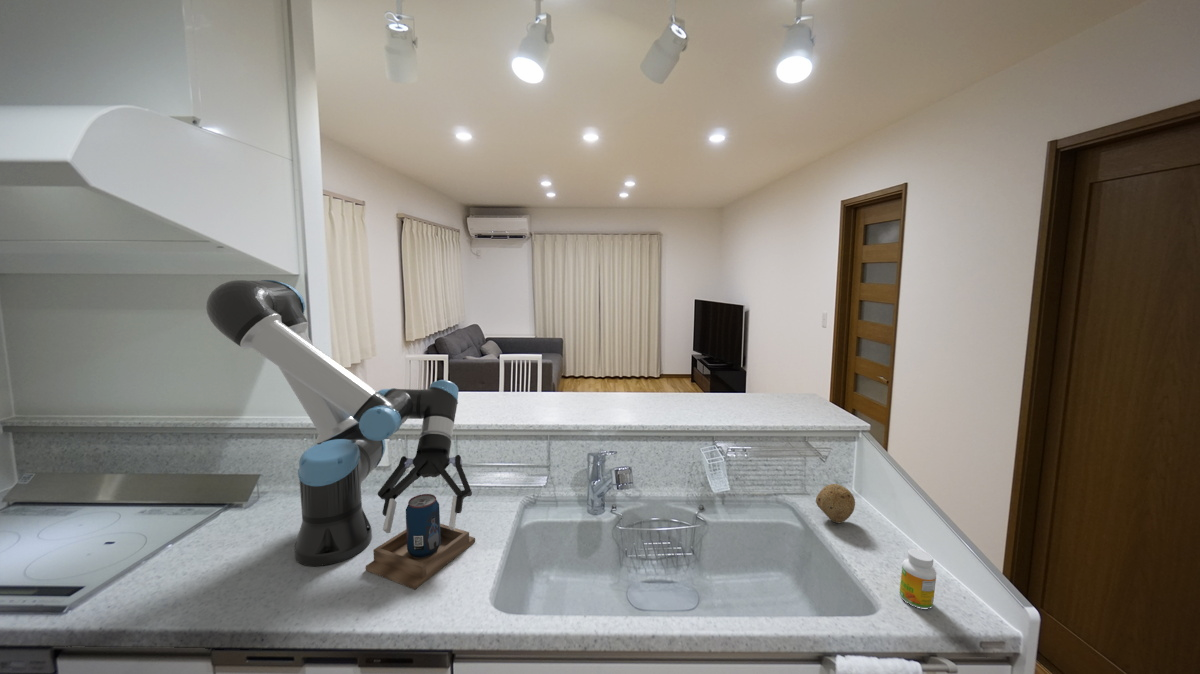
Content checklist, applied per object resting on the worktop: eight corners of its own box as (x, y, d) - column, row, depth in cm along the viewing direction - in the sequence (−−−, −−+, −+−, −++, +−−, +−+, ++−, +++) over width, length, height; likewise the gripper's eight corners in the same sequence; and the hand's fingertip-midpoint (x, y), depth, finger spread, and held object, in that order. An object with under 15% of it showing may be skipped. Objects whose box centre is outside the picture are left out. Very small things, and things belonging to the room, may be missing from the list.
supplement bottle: (892, 591, 88) (897, 546, 87) (917, 590, 89) (922, 545, 87) (913, 611, 83) (918, 563, 82) (940, 610, 83) (945, 562, 82)
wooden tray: (365, 570, 92) (365, 554, 92) (430, 527, 109) (429, 514, 108) (415, 589, 87) (414, 573, 86) (475, 541, 103) (474, 527, 103)
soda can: (414, 542, 101) (412, 492, 99) (444, 541, 101) (443, 492, 100) (402, 560, 94) (400, 508, 92) (435, 560, 94) (433, 507, 93)
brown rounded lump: (809, 519, 115) (812, 484, 114) (822, 508, 121) (825, 474, 120) (846, 534, 108) (850, 496, 107) (858, 522, 114) (862, 485, 113)
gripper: (489, 444, 112) (480, 531, 99) (387, 446, 109) (364, 537, 96) (485, 431, 106) (475, 522, 93) (377, 433, 103) (352, 527, 90)
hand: (419, 530), depth 94 cm, fingers open, 13 cm apart
